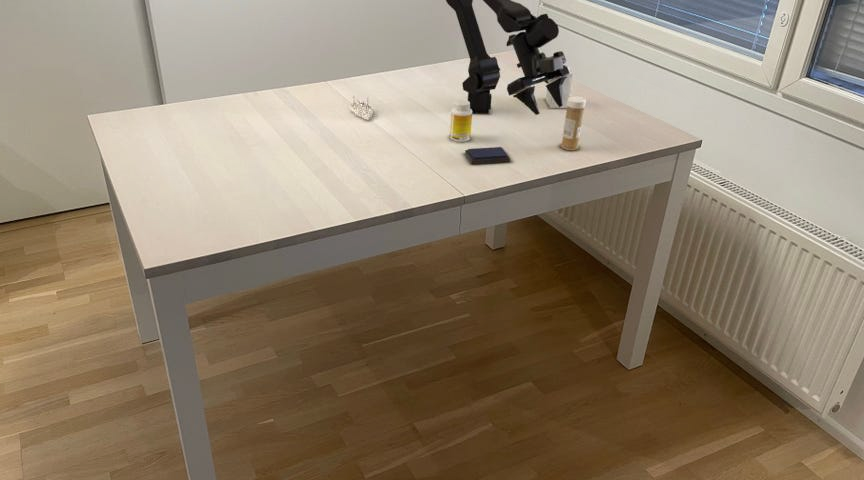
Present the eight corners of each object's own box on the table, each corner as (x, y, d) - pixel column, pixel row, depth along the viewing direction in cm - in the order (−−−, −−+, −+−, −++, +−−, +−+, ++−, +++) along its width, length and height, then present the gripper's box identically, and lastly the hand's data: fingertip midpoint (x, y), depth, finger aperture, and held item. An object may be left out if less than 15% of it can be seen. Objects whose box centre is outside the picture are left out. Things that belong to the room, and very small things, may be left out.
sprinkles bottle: (581, 149, 190) (589, 100, 183) (566, 151, 189) (573, 102, 181) (572, 143, 194) (580, 94, 186) (557, 145, 192) (564, 96, 185)
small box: (568, 108, 215) (573, 74, 209) (549, 108, 215) (554, 73, 209) (563, 99, 222) (568, 65, 216) (545, 99, 222) (549, 65, 216)
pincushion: (377, 120, 206) (377, 100, 203) (356, 122, 205) (356, 103, 202) (364, 105, 216) (364, 87, 213) (345, 107, 214) (344, 89, 211)
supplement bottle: (473, 141, 194) (476, 104, 189) (455, 143, 193) (457, 107, 187) (464, 133, 199) (467, 97, 193) (446, 136, 197) (448, 100, 191)
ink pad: (471, 164, 182) (471, 158, 181) (464, 154, 187) (465, 148, 186) (509, 162, 183) (510, 156, 182) (501, 151, 189) (502, 145, 188)
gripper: (524, 48, 178) (547, 108, 179) (573, 35, 188) (594, 91, 189) (496, 66, 188) (517, 122, 188) (544, 53, 197) (564, 106, 198)
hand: (549, 110), depth 191 cm, fingers open, 9 cm apart
